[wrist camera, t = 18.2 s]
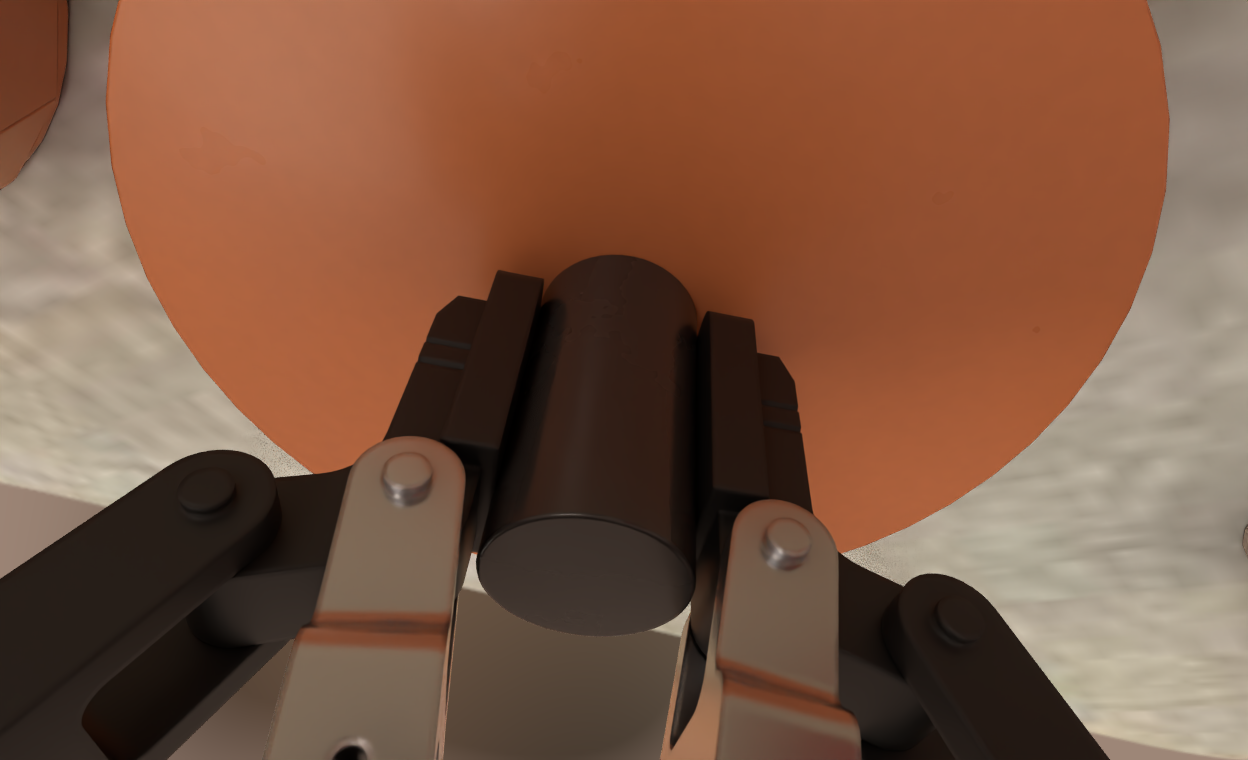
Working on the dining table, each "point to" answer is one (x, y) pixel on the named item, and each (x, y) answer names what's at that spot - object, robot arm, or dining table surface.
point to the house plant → (1245, 541)
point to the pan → (29, 76)
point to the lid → (649, 238)
